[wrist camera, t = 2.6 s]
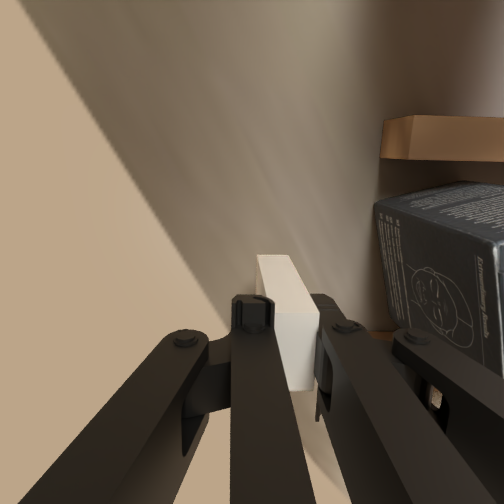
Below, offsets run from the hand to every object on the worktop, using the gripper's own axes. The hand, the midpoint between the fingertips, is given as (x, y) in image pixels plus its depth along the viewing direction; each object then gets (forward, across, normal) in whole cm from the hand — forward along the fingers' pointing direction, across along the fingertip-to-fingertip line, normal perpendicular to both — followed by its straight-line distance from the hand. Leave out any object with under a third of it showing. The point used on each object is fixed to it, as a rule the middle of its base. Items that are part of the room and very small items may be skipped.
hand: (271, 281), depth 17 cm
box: (+5, +10, 0) cm, 11 cm away
